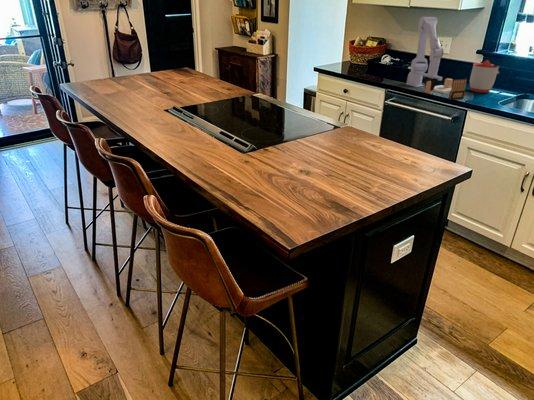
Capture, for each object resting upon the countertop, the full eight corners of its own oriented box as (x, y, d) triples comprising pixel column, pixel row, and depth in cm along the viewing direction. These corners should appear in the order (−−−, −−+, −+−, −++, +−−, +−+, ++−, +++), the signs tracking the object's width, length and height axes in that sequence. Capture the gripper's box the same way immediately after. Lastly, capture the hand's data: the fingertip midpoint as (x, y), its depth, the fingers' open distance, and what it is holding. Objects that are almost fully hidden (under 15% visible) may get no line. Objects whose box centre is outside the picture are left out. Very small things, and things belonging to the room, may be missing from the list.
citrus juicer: (499, 94, 275) (508, 62, 266) (474, 93, 274) (482, 62, 265) (486, 88, 289) (494, 58, 280) (462, 88, 288) (469, 57, 279)
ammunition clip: (461, 97, 264) (465, 78, 258) (463, 98, 262) (468, 79, 257) (448, 99, 260) (452, 79, 254) (450, 99, 259) (454, 80, 253)
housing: (427, 89, 282) (430, 78, 279) (441, 87, 289) (443, 76, 286) (444, 93, 272) (446, 82, 269) (457, 91, 279) (460, 80, 276)
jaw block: (424, 92, 275) (426, 81, 271) (428, 91, 276) (430, 80, 273) (429, 93, 272) (431, 82, 269) (432, 92, 274) (434, 82, 270)
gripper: (420, 66, 270) (416, 88, 277) (439, 70, 260) (434, 92, 266) (427, 65, 274) (423, 86, 280) (446, 69, 263) (441, 91, 269)
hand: (429, 89), depth 273 cm, fingers closed on jaw block, 3 cm apart
